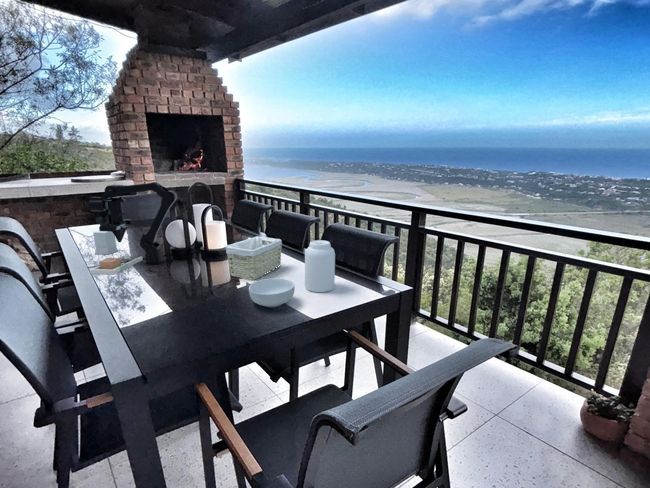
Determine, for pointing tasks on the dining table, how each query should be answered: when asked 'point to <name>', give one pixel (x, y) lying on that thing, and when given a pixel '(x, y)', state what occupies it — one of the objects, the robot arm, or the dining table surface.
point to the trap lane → (104, 271)
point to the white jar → (319, 266)
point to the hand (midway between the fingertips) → (119, 242)
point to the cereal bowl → (271, 291)
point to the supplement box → (105, 242)
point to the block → (110, 263)
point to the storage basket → (254, 257)
